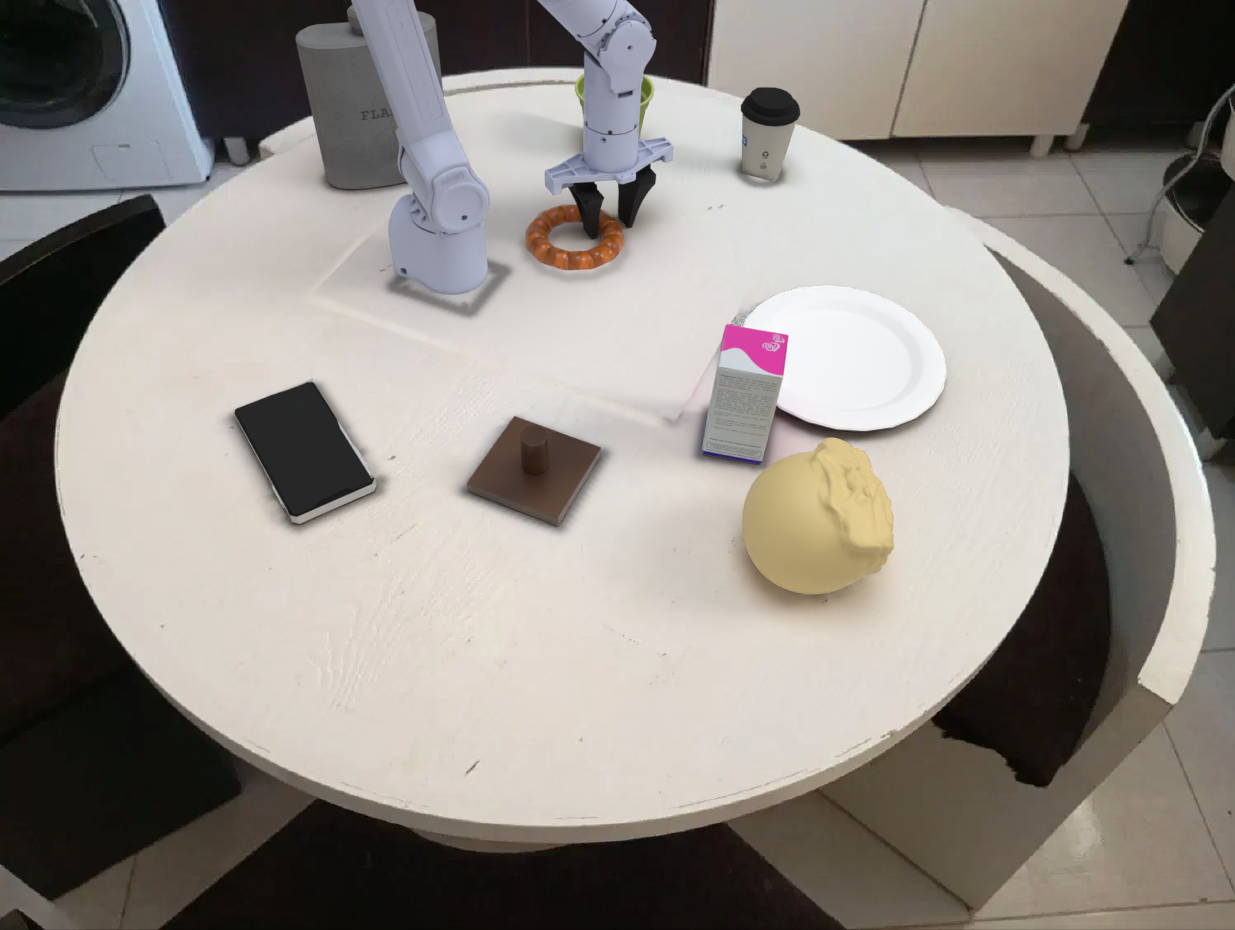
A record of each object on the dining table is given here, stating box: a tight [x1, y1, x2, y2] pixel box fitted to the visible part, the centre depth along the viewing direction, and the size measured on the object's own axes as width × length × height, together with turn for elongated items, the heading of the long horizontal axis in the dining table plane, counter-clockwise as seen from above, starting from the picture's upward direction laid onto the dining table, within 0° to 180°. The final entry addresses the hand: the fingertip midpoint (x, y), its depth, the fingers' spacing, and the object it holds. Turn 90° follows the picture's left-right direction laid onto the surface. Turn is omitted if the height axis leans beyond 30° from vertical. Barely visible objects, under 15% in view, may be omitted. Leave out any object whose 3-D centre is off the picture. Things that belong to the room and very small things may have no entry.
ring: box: [525, 203, 625, 271], centre depth 110 cm, size 11×11×2 cm
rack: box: [466, 415, 602, 527], centre depth 88 cm, size 9×9×5 cm
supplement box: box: [701, 323, 788, 465], centre depth 89 cm, size 6×6×12 cm
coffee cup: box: [740, 86, 801, 183], centre depth 117 cm, size 7×7×10 cm
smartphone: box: [234, 380, 377, 525], centre depth 90 cm, size 8×1×15 cm
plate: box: [741, 284, 948, 433], centre depth 100 cm, size 21×21×2 cm
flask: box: [295, 3, 445, 190], centre depth 111 cm, size 15×6×20 cm, turn 112°
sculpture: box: [741, 437, 895, 595], centre depth 81 cm, size 12×12×11 cm
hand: (608, 229), depth 112 cm, fingers open, 4 cm apart
